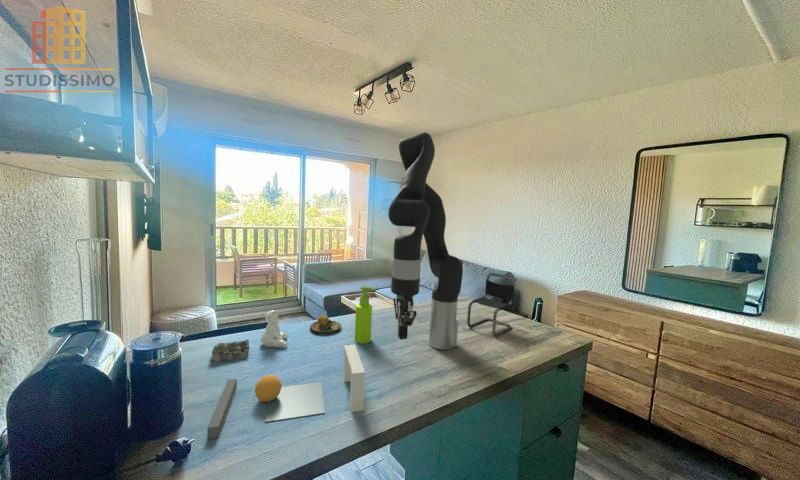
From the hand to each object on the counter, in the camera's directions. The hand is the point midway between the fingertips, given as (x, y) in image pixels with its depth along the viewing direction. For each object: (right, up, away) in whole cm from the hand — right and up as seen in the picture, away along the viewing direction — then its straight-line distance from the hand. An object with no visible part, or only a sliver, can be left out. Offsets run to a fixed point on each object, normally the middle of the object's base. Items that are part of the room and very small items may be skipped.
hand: (402, 337), depth 83 cm
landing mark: (-26, -13, -7) cm, 30 cm away
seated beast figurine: (-44, -10, +23) cm, 51 cm away
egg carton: (-54, -10, +14) cm, 57 cm away
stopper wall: (-42, -13, -12) cm, 45 cm away
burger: (-30, -9, +38) cm, 49 cm away
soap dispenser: (-14, -11, +30) cm, 34 cm away
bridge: (-13, -14, -3) cm, 19 cm away
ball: (-33, -10, -7) cm, 36 cm away
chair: (+38, -11, +48) cm, 62 cm away
